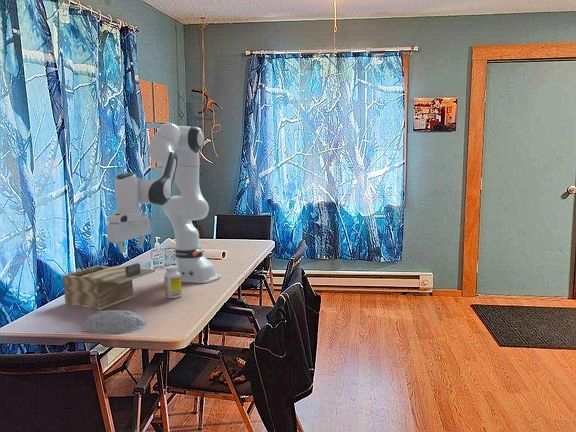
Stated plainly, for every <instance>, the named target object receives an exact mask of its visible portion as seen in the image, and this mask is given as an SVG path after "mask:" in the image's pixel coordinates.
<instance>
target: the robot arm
mask: <svg viewBox="0 0 576 432" xmlns="http://www.w3.org/2000/svg"><path fill="white" fill-rule="evenodd" d="M204 144H205V133H204V131H203V130H202V129H201V128H200V127H199V126H198V127H197V126H189V125H188V126H187V125H178V126H177V125H176V124H174V123H172V122H164V123H163V124H162V125H161V126H159V128H158V129H157V130H156V132H155V133H154V135H153V136H152V138H151V140H150V142H149V144H148V148H147V153H148V155H149V157H150V158H151V160H152V161H153V163H154V162H155V163H156V164H158V165H159V166H160V165H161V166H162V169H161V172H160V173H161V174H160V176H159V177H158V178H155V179H142V178H139V177H137V175H136V173H135V172H124V173H119V174H118V175H116V176H115V180H114V197H115V200H116V210H115V211H114V212H113V213H111V214H110V215H109V216H107V217H106V222H107V223H108V224H107V227H106V234H107V235H106V236H107V241H108V242H109V243H111V244H116V246H117V247H118V248H119V253H120V254H123V253H126V252H127V250H126V249H127V248H126V247H124V242H125V241H129V240H133V239H137V238H138V239H139V240H138V242H137V248H143V247H144V242H145V238H146V236H149V235H150V234H151V233H152V225H151V221H150V217H149V216H150V215H149V214H148V213H147V212H146V211H141V206H140V205H141V204H144V205H146V204H147V205H159V206H162V211H163V213H164V214H165V216H166V217H167V218H168V219H169V221H170V223H171V226H172V229H173V232H174V239H175V250H174V253H175V255H174V256H175V259H176V261H175V263H176V264H175V266H177V268H178V269H177V272H179V273H180V278H181V283H192V284H207V283H212V282H215V281H217V280H219V279H221V277H222V275H221V274H219V273H217V271H216V268H215V265H214V263H213V262H211V261H210V260H209V259H208V258H207V257H205V256H204V253H205V249H202V248H201V246H200V233H199V231H198V229H197V228H196V226H194V224H193V221H199V220H203V219H205V218H207V216H208V214H209V211H210V206H209V202H207V200H206V199H205V198H204V196H203V194H202V192H201V188H200V187H201V186H200V165H201V164H200V163H201V162H200V152H199V151H200V150H201V149H202V147H203V146H204ZM176 152H177V153H176ZM173 183H175V185H176V186H177V187H178V188H179V191H180V194H181V195H173V196H172V193H173Z"/></svg>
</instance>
